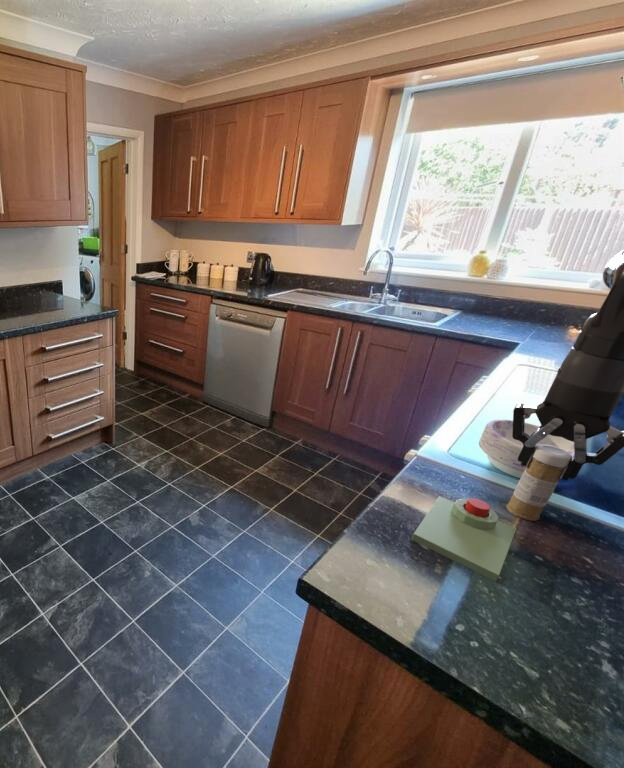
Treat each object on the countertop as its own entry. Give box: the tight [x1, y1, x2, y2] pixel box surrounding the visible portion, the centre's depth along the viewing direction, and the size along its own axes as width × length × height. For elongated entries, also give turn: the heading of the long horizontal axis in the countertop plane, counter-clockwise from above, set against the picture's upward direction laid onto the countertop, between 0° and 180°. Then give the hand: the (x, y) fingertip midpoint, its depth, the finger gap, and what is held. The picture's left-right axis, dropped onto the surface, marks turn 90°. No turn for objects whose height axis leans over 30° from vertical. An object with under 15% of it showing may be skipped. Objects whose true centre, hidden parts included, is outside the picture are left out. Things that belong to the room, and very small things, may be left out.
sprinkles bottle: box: [506, 444, 572, 522], centre depth 74 cm, size 5×5×14 cm
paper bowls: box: [478, 419, 574, 480], centre depth 88 cm, size 15×15×8 cm
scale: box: [411, 495, 517, 582], centre depth 70 cm, size 16×11×3 cm
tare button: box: [465, 497, 491, 518], centre depth 72 cm, size 3×3×2 cm
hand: (543, 470), depth 73 cm, fingers closed on sprinkles bottle, 4 cm apart
